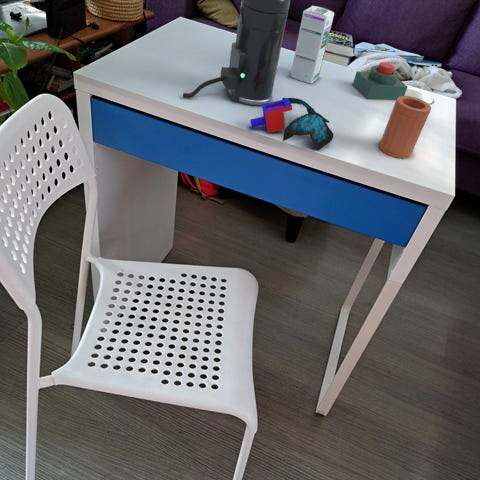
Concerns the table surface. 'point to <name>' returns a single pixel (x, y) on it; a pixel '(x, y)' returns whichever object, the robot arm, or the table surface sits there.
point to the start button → (385, 68)
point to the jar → (404, 126)
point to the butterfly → (309, 126)
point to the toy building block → (273, 115)
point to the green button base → (379, 84)
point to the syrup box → (311, 43)
